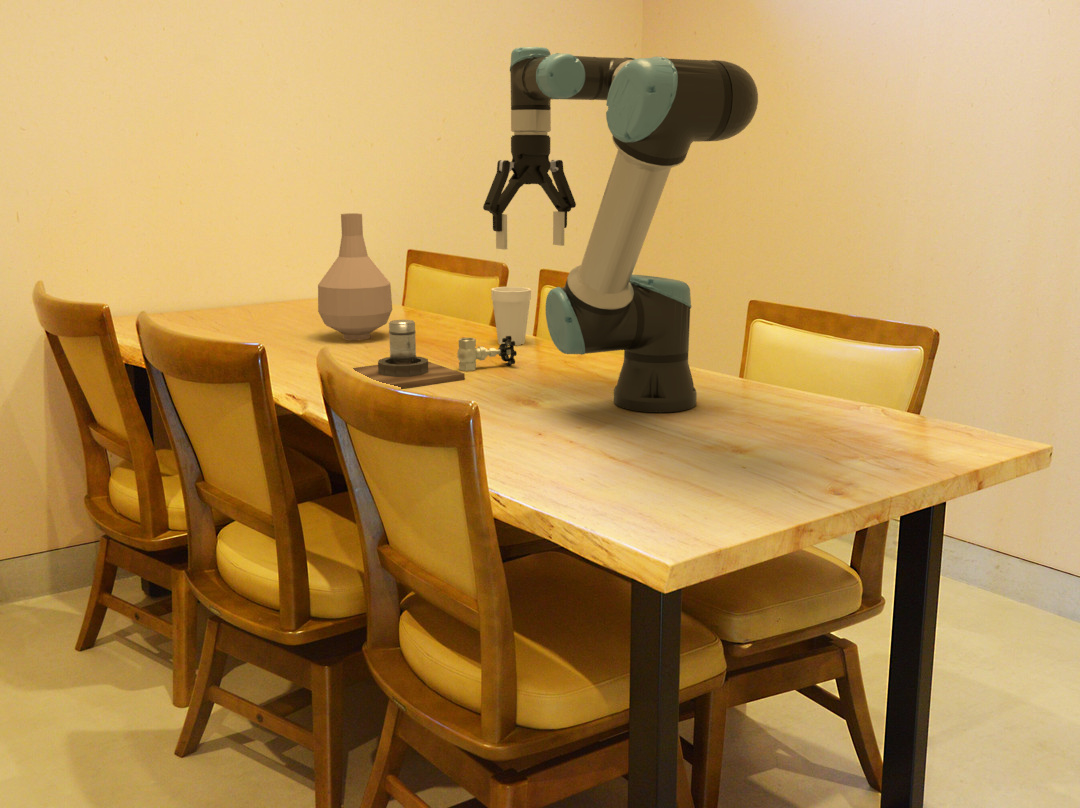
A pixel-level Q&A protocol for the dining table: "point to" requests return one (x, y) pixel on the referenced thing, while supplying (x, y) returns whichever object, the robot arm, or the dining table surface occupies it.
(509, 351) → the valve
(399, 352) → the cylinder
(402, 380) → the ring block
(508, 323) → the foam cup
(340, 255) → the vase
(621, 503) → the dining table surface
